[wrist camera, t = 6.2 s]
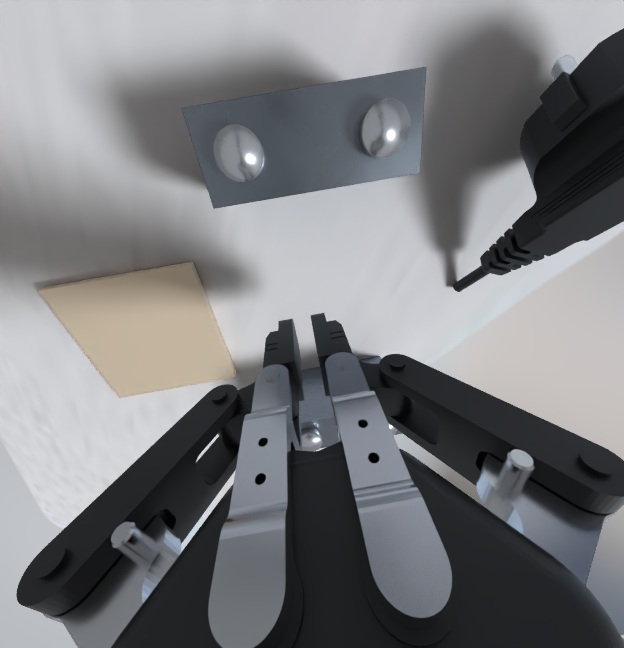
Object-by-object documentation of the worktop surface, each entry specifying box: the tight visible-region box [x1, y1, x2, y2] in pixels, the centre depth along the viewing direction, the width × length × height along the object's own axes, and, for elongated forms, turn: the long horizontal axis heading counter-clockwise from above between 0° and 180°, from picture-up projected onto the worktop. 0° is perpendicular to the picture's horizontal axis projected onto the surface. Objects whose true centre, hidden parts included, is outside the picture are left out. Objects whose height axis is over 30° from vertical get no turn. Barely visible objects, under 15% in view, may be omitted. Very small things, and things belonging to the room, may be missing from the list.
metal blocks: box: [182, 67, 426, 451], centre depth 15 cm, size 19×8×6 cm, turn 8°
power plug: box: [453, 29, 624, 292], centre depth 14 cm, size 6×8×12 cm
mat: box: [38, 261, 237, 398], centre depth 18 cm, size 9×9×1 cm
